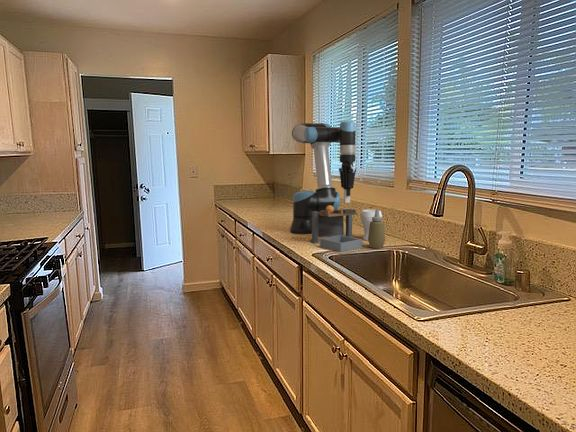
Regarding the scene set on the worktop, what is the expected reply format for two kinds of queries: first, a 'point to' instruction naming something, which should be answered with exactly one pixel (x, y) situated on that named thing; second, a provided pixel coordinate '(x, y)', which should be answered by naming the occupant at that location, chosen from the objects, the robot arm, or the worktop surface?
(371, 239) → the squeeze bottle
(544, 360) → the worktop surface
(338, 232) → the tipping lever
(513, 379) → the worktop surface
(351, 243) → the tray
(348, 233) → the lever stand
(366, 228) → the cup
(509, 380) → the worktop surface
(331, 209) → the ball
